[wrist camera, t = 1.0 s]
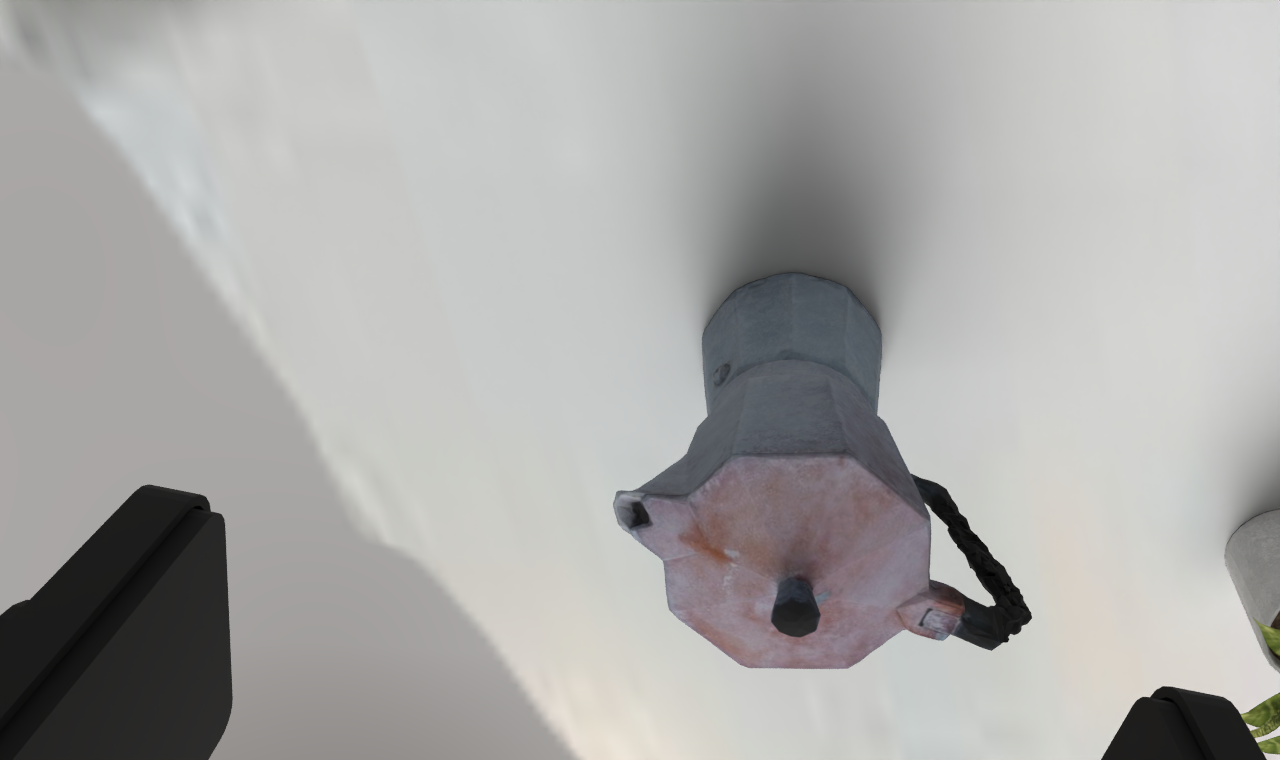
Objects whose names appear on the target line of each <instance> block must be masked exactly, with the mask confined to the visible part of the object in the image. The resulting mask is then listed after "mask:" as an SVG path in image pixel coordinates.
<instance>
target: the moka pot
mask: <svg viewBox="0 0 1280 760" xmlns="http://www.w3.org/2000/svg"><path fill="white" fill-rule="evenodd" d="M702 352H703V370H704V387H705V397H706V404H707V413H708V417H707V418H706V419H705V420H704V421H703V422H702V423H701V424H700V425H699V426H698V428H697V430H696V433H695V435H694V437H693V440H692V442H691V444H690V447H689V449H688V452H687V454H686V455H685V456H684V457H683V458H682V459H680V460H679V461H678V462H676V463H675V464H673V465H672V466H670V467H669V468H667V469H666V470H665V471H663V472H662V473H661V474H659V475H658V476H656V477H655V478H653V479H652V480H650V481H649V482H647V483H646V484H644V485H643V486H641V487H640V488H638V489H636V490H633V491H618V492H616V496H615V500H614V503H613V507H614V511H615V514H616V518H617V521H618V524H619V525H620V526H621V528H622V529H623V530H625V531H626V532H628V533H629V534H631V535H632V536H633V538H634V539H636V540H637V541H638V542H640V543H641V544H642V545H644V546H645V547H646V548H647V549H649V550H650V551H651V552H653V553H654V554H655V555H657V556H658V557H659V558H660V559H661V560H663V563H664V570H665V583H666V594H667V602H668V607H669V610H670V611H671V612H672V613H673V614H674V615H675V616H676V617H677V618H678V619H679V620H681V621H682V622H683V623H685V624H686V625H687V626H689V627H690V628H691V629H693V630H694V631H696V632H697V633H698V634H700V635H701V636H703V637H704V638H706V639H707V640H708V641H710V642H711V643H712V644H713V645H715V646H716V647H717V648H719V649H720V650H721V651H723V652H724V653H725V654H727V655H728V656H729V657H731V658H732V659H733V660H735V661H736V662H737V663H739V664H740V665H742V666H745V667H748V668H791V669H846V668H849V667H851V666H853V665H855V664H856V663H858V662H860V661H861V660H862V659H864V658H865V657H866V656H867V655H869V654H870V653H871V652H872V651H874V650H875V649H877V648H878V647H880V646H881V645H883V644H884V643H885V642H886V641H887V640H889V639H890V638H892V637H893V636H895V635H896V634H898V633H899V632H901V631H902V630H905V629H907V630H909V631H910V632H912V633H914V634H917V635H920V636H924V637H927V638H931V639H935V640H942V641H943V640H945V639H946V638H947V637H948V636H949V635H950V634H951V635H954V636H956V637H959V638H961V639H963V640H965V641H968V642H970V643H972V644H975V645H977V646H979V647H982V648H985V649H988V650H991V651H992V650H993V649H995V648H996V647H997V646H999V645H1000V644H1001V643H1003V642H1008V640H1009V638H1008V636H1009V635H1010V634H1013V635H1016V634H1018V633H1019V632H1020V631H1021V626H1023V625H1026V624H1028V622H1029V621H1030V620H1031V619H1032V616H1031V612H1030V611H1029V609H1028V607H1027V606H1026V604H1025V602H1024V601H1023V596H1022V595H1021V594H1020V590H1019V589H1018V588H1017V587H1016V586H1014V584H1013V583H1012V581H1011V577H1010V576H1009V575H1008V574H1007V572H1006V570H1005V568H1004V566H1002V565H1001V564H1000V563H999V562H998V561H997V560H995V559H994V558H993V556H992V554H991V553H990V552H989V550H988V547H987V546H986V545H985V544H984V543H983V542H982V541H981V540H980V539H979V537H978V536H977V535H976V534H974V533H973V532H972V531H971V530H970V527H969V524H968V521H967V519H966V518H965V517H964V516H963V515H961V514H960V513H959V511H958V507H957V506H956V504H955V503H954V501H953V500H952V499H951V496H950V495H949V493H948V491H947V489H945V488H944V487H942V486H941V485H939V484H937V483H935V482H932V481H929V480H926V479H921V478H919V477H917V476H915V475H913V474H910V472H909V470H908V468H907V466H906V464H905V463H904V461H903V459H902V457H901V455H900V452H899V450H898V448H897V446H896V444H895V442H894V440H893V438H892V436H891V433H890V431H889V429H888V427H887V425H886V423H885V422H884V421H883V420H882V419H881V418H880V417H879V416H877V410H878V398H879V382H880V371H881V358H882V345H881V331H880V329H879V327H878V326H877V324H876V322H875V321H874V320H873V318H872V317H871V315H870V314H869V313H868V312H867V310H866V309H865V308H864V306H863V305H862V304H861V303H860V301H859V300H858V299H857V298H856V297H855V296H854V295H853V293H852V292H851V290H849V289H848V288H846V287H844V286H842V285H840V284H837V283H835V282H832V281H829V280H826V279H820V278H817V277H813V276H809V275H806V274H803V273H787V274H778V275H773V276H771V277H768V278H765V279H761V280H757V281H755V282H752V283H748V284H746V285H744V286H743V287H741V288H739V289H737V290H736V291H734V292H733V293H732V294H731V295H730V296H729V297H728V298H727V300H726V301H725V302H724V303H723V304H722V305H721V307H720V308H719V310H718V311H717V312H716V314H715V315H714V317H713V318H712V320H711V322H710V323H709V325H708V326H707V328H706V329H705V331H704V334H703V337H702ZM924 503H926V504H927V505H928V506H930V508H931V510H932V511H933V512H934V513H935V514H936V515H937V516H938V517H939V518H940V519H941V520H942V521H943V522H944V523H945V524H946V525H947V526H948V527H949V528H948V532H949V534H950V536H951V538H952V540H953V541H954V542H955V543H956V544H957V547H958V548H959V549H960V550H961V551H962V552H963V553H964V554H965V556H966V558H967V560H968V563H969V566H970V568H972V569H973V570H974V571H975V572H976V576H977V578H978V579H979V581H980V582H981V583H982V585H983V587H984V588H985V589H986V590H987V591H988V592H989V593H990V594H991V595H992V596H993V599H994V601H995V603H996V605H995V606H990V607H986V606H984V605H982V604H979V603H977V602H975V601H974V600H972V599H970V598H968V597H966V596H965V595H963V594H962V593H960V592H959V591H958V590H956V589H955V588H953V587H951V586H949V585H946V584H944V583H941V582H937V581H934V580H930V574H929V568H930V548H931V521H930V515H929V512H928V510H927V508H926V506H925V504H924Z"/></svg>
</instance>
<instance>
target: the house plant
mask: <svg viewBox="0 0 1280 760" xmlns="http://www.w3.org/2000/svg"><path fill="white" fill-rule="evenodd" d="M1225 562H1226V566H1227V569H1228V571H1229V574H1230V576H1231V578H1232V581H1233V583H1234V585H1235V588H1236V590H1237V592H1238V595H1239V597H1240V600H1241V602H1242V604H1243V607H1244V609H1245V611H1246V614H1247V616H1248V618H1249V621H1250V623H1251V625H1252V628H1253V630H1254V633H1255V635H1256V637H1257V640H1258V642H1259V644H1260V647H1261V649H1262V651H1263V654H1264V655H1265V657H1266V659H1267V661H1268V662H1269V664H1270V665H1271V666H1272V667H1273V668H1274V669H1275V670H1277V671H1278V672H1279V673H1280V509H1278V510H1274V511H1269V512H1266V513H1263V514H1261V515H1259V516H1256V517H1254V518H1252V519H1251V520H1249V521H1248V522H1246V523H1245V524H1243V525H1242V526H1241V527H1240V528H1239V529H1238V530H1237V531H1236V532H1235V533H1234V534H1233V535H1232V537H1231V539H1230V540H1229V542H1228V544H1227V547H1226V551H1225ZM1240 715H1241V717H1242V718H1243V720H1244V722H1245V723H1247V724H1250V725H1252V726H1255V727H1259V728H1258V729H1255V730H1252V731H1250V732H1251V734H1252V735H1253V737H1254V738H1257V737H1261V736H1264V735H1267V734H1269V733H1271V732H1272V731H1274V730H1276V729H1277V728H1278V727H1279V726H1280V693H1278V694H1276V695H1274V696H1273V697H1271V698H1269V699H1267V700H1266V701H1264V702H1262V703H1261V704H1259V705H1257V706H1256V707H1255V708H1253V709H1252V710H1250V711H1249V712H1247V713H1244V714H1240ZM1257 744H1258V746H1259V747H1260V749H1261V751H1262V752H1265V753H1270V754H1280V736H1277V737H1274V738H1271V739H1268V740H1265V741H1262V742H1259V743H1257Z"/></svg>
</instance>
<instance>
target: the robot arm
mask: <svg viewBox="0 0 1280 760" xmlns="http://www.w3.org/2000/svg"><path fill="white" fill-rule="evenodd" d="M231 708H232V676H231V652H230V629H229V606H228V583H227V559H226V536H225V522H224V518H223V516H222V515H221V514H219V513H215V512H211V510H210V504H209V502H208V500H207V498H206V497H205V496H203V495H200V494H195V493H189V492H184V491H179V490H174V489H169V488H164V487H159V486H154V485H145V486H142V487H140V488H139V489H138V490H137V491H135V492H134V493H133V494H132V495H131V496H130V497H129V498H128V499H127V500H126V501H125V502H124V503H123V504H122V505H121V506H120V508H119V509H118V510H117V511H116V512H115V513H114V514H113V515H112V516H111V517H110V518H109V519H108V520H107V521H106V522H105V523H104V524H103V525H102V526H101V527H100V528H99V529H98V530H97V531H96V532H95V533H94V534H93V535H92V536H91V537H90V539H89V540H88V541H87V542H86V543H85V544H84V545H83V546H82V547H81V548H80V549H79V550H78V551H77V552H76V553H75V554H74V555H73V556H72V557H71V558H70V559H69V560H68V561H67V562H66V563H65V564H64V565H63V566H62V567H61V568H60V569H59V570H58V571H57V573H56V574H55V575H54V576H53V577H52V578H51V579H50V580H49V581H48V582H47V583H46V584H45V585H44V586H43V587H42V588H41V589H40V590H39V591H38V592H37V593H36V594H35V595H34V596H33V597H32V598H31V599H30V600H25V601H22V602H20V603H17V604H15V605H13V606H11V607H10V608H9V609H8V610H6V611H5V612H4V613H3V614H2V615H0V760H208V759H209V758H210V756H211V754H212V752H213V751H214V749H215V747H216V746H217V744H218V742H219V741H220V739H221V737H222V735H223V733H224V731H225V729H226V726H227V724H228V721H229V717H230V714H231ZM1101 760H1267V759H1266V758H1265V756H1264V754H1263V752H1262V751H1261V749H1260V747H1259V746H1258V744H1257V742H1256V741H1255V739H1254V737H1253V735H1252V734H1251V732H1250V730H1249V729H1248V727H1247V725H1246V723H1245V722H1244V720H1243V718H1242V717H1241V715H1240V713H1239V711H1238V710H1237V709H1236V707H1235V706H1234V705H1233V704H1232V702H1230V701H1229V700H1227V699H1225V698H1224V697H1220V696H1215V695H1210V694H1205V693H1200V692H1195V691H1190V690H1185V689H1180V688H1175V687H1165V686H1163V687H1161V688H1159V689H1157V690H1156V691H1155V692H1154V693H1153V694H1152V696H1151V697H1150V698H1149V697H1142V698H1140V699H1138V700H1137V701H1136V702H1135V704H1134V705H1133V706H1132V708H1131V710H1130V711H1129V713H1128V715H1127V717H1126V718H1125V720H1124V722H1123V723H1122V725H1121V727H1120V728H1119V730H1118V732H1117V734H1116V735H1115V737H1114V739H1113V740H1112V742H1111V744H1110V745H1109V747H1108V749H1107V751H1106V752H1105V754H1104V756H1103V757H1102V759H1101Z"/></svg>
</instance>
